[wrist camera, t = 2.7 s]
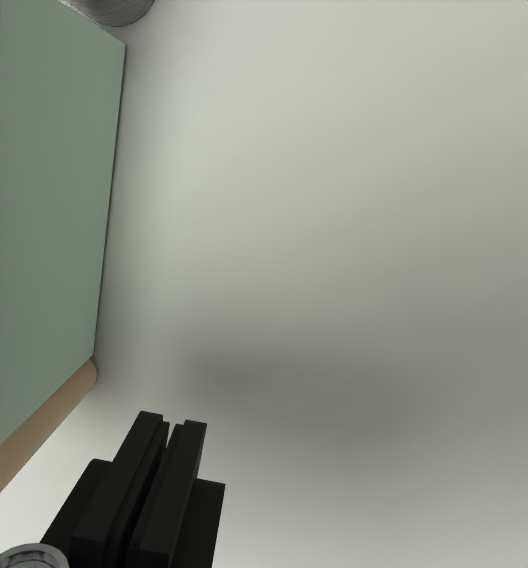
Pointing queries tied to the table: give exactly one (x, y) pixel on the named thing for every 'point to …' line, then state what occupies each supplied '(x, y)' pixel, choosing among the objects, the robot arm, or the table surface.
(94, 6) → the hinge post
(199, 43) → the table surface
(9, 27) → the gate
